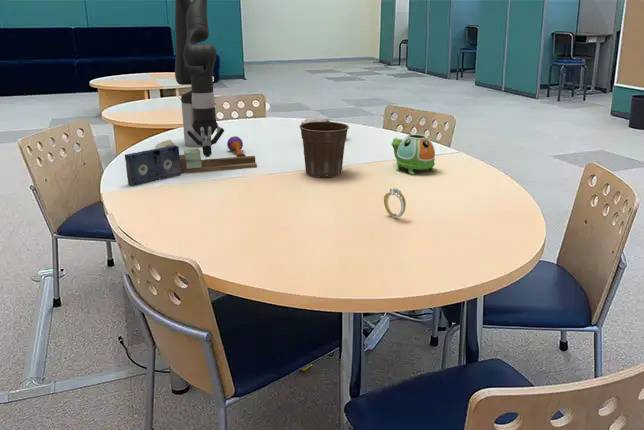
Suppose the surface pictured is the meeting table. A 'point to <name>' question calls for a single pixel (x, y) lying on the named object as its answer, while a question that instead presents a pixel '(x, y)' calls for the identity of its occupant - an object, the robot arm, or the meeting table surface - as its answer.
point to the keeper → (193, 158)
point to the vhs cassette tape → (152, 165)
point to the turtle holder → (414, 153)
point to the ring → (401, 198)
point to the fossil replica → (164, 144)
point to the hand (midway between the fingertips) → (207, 156)
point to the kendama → (236, 145)
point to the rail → (219, 164)
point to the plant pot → (323, 147)
